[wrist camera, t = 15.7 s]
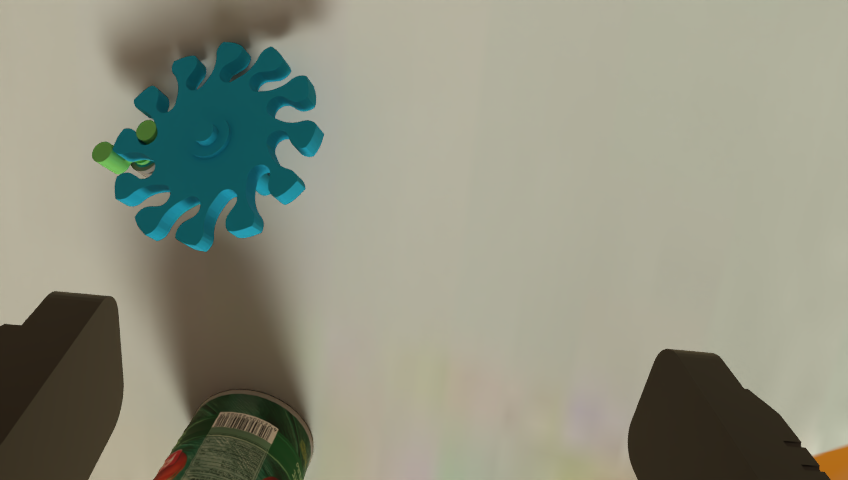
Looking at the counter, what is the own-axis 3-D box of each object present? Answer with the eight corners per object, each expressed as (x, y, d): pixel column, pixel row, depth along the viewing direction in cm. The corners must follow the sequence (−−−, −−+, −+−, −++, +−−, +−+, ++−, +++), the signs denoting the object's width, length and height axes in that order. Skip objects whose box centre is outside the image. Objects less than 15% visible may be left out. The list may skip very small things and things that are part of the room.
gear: (326, 24, 28) (289, 241, 25) (370, 97, 34) (344, 283, 30) (113, 42, 31) (55, 239, 28) (184, 107, 36) (143, 277, 33)
